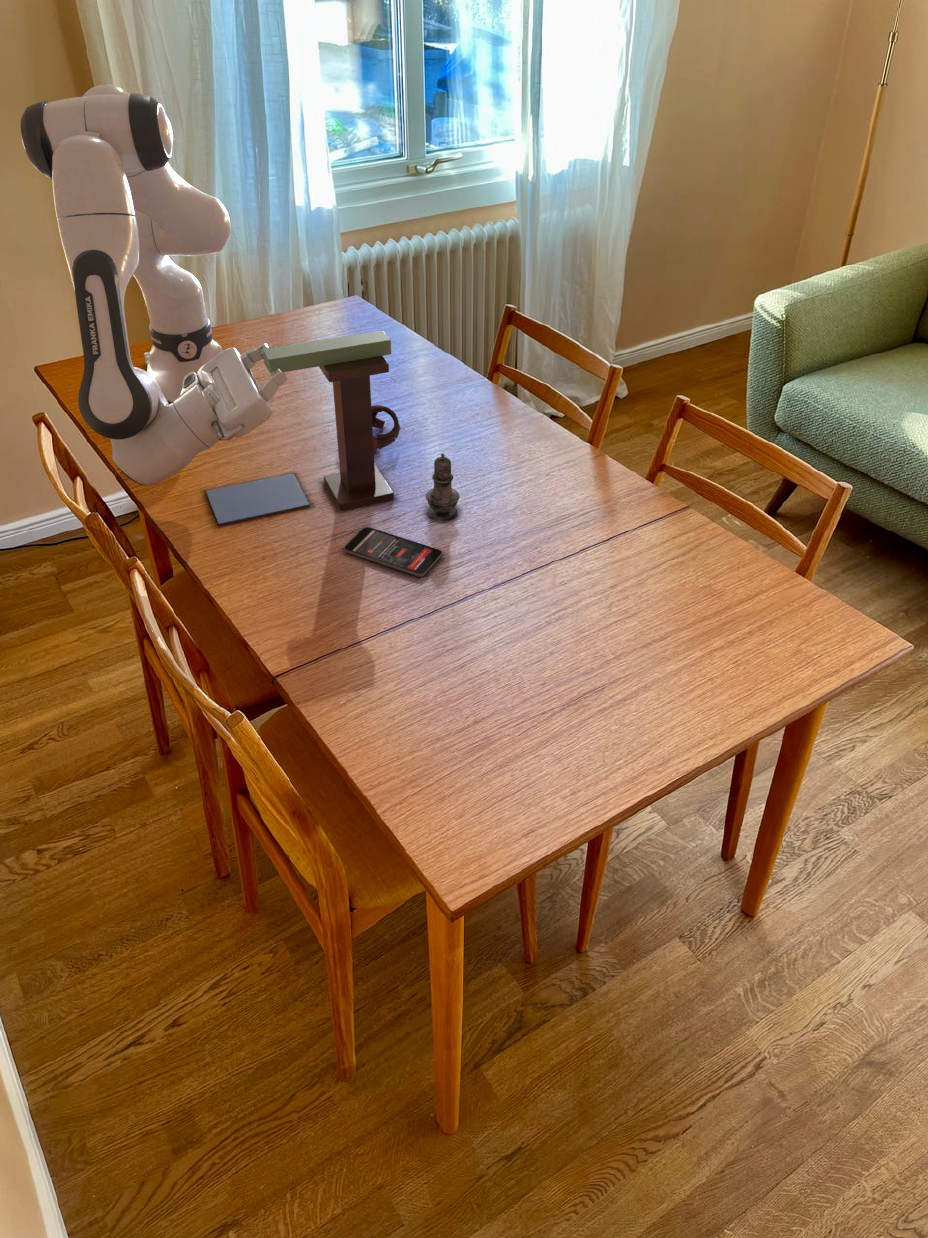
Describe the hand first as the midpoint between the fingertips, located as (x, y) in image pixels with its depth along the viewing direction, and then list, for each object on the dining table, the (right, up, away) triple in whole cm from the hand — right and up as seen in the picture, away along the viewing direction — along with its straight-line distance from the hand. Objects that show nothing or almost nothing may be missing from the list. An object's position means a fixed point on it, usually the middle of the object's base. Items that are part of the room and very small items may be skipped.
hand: (276, 360), depth 149 cm
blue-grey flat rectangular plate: (-7, -19, +19) cm, 28 cm away
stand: (+11, -18, +21) cm, 30 cm away
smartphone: (+18, -30, +7) cm, 36 cm away
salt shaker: (+26, -22, +17) cm, 38 cm away
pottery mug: (+11, -6, +35) cm, 37 cm away
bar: (+8, +1, +3) cm, 8 cm away
